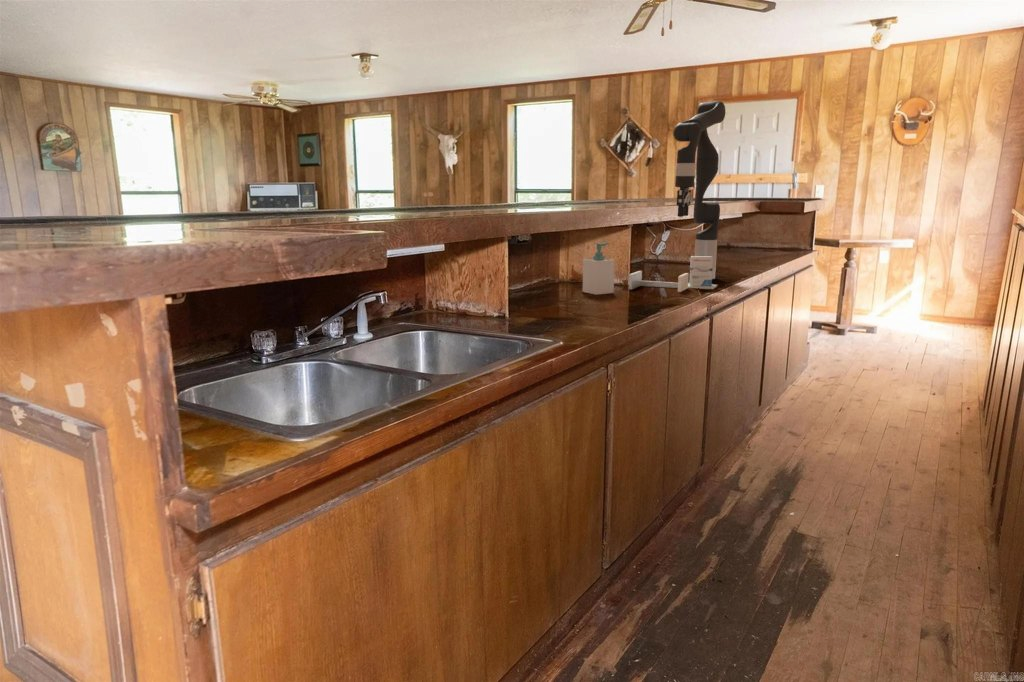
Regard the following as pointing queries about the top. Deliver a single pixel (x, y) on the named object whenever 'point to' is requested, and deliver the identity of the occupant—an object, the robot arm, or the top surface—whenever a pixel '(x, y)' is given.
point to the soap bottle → (598, 273)
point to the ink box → (701, 271)
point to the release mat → (702, 286)
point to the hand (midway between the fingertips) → (682, 216)
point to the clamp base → (647, 282)
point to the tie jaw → (683, 282)
